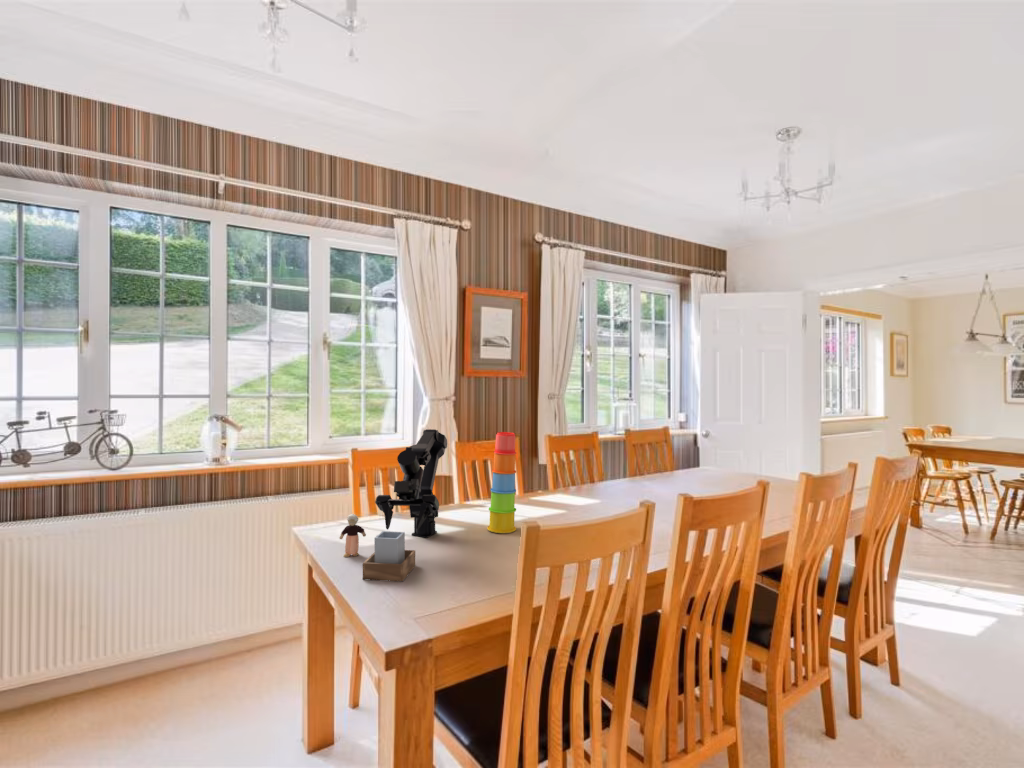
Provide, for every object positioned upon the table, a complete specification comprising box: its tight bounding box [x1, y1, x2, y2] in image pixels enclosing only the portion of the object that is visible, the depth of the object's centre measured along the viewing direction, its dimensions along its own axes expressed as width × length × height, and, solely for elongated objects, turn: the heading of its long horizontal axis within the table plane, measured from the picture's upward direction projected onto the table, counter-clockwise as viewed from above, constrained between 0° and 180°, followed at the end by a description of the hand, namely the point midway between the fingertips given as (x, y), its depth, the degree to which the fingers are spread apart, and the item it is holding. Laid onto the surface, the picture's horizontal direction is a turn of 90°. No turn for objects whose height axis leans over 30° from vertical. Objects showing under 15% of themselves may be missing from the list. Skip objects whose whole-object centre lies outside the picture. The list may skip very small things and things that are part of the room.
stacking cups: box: [487, 431, 517, 534], centre depth 181 cm, size 10×10×35 cm
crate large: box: [362, 549, 416, 582], centre depth 142 cm, size 11×11×4 cm
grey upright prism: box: [374, 530, 406, 564], centre depth 142 cm, size 6×6×10 cm
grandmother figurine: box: [338, 513, 367, 558], centre depth 156 cm, size 8×4×13 cm, turn 117°
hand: (402, 528), depth 150 cm, fingers open, 9 cm apart
